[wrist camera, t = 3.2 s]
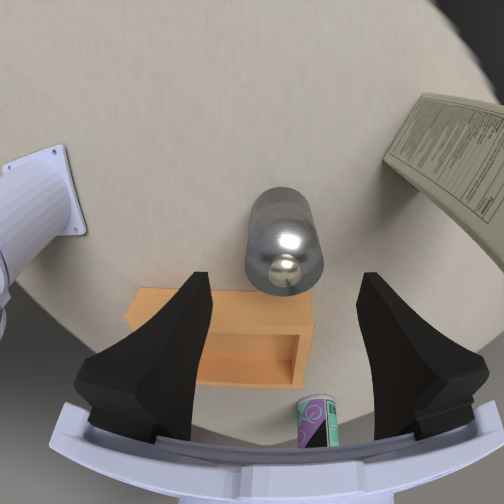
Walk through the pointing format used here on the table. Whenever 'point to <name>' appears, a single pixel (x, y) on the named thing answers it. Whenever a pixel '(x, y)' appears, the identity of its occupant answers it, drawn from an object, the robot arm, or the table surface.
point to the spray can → (317, 422)
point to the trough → (245, 337)
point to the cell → (283, 244)
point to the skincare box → (457, 163)
